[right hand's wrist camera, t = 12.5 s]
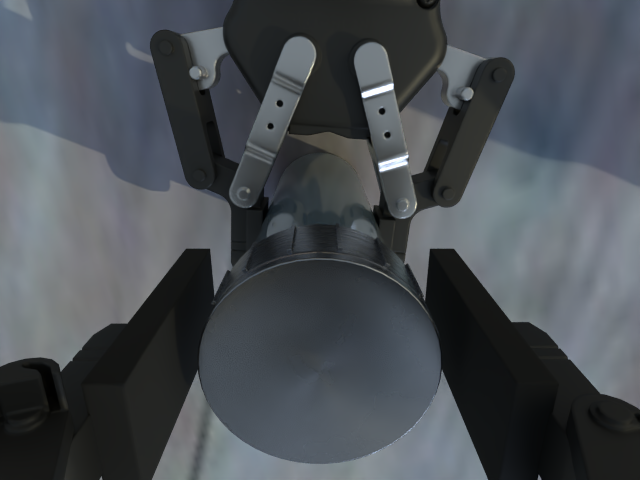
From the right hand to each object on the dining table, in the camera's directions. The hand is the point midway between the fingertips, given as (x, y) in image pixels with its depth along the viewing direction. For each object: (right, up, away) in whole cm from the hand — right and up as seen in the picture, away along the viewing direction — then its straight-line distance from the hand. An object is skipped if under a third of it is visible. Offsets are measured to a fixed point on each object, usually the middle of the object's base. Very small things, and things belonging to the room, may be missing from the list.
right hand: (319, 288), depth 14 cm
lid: (0, -1, -4) cm, 4 cm away
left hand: (0, 0, +6) cm, 6 cm away
